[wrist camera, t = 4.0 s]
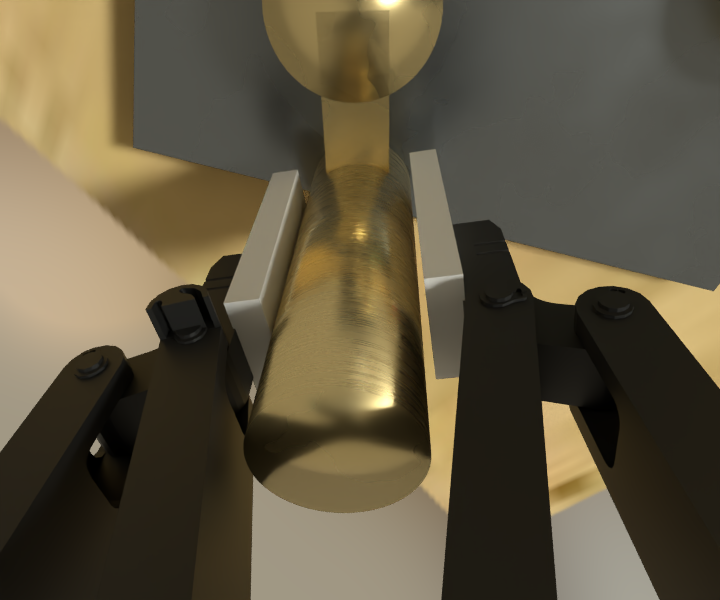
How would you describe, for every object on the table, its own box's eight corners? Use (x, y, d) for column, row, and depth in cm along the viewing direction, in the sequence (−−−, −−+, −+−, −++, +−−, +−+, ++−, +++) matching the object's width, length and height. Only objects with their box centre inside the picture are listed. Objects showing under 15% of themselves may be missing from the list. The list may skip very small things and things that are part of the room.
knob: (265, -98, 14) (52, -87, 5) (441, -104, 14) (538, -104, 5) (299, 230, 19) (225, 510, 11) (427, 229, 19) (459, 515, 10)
